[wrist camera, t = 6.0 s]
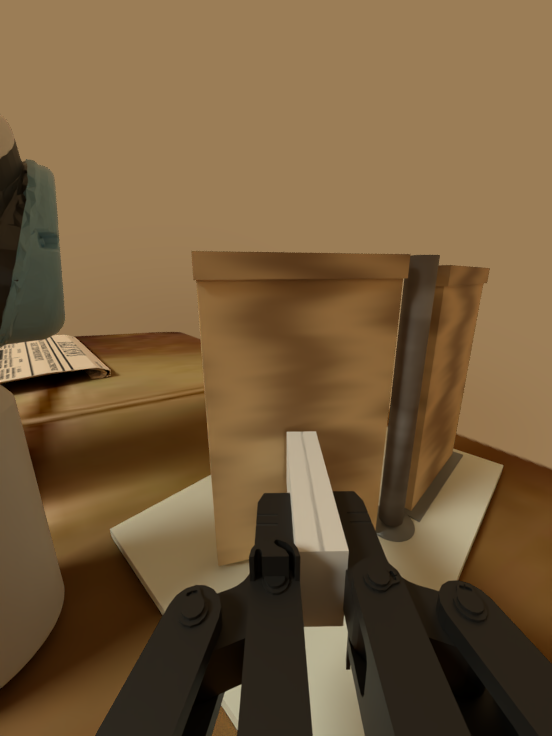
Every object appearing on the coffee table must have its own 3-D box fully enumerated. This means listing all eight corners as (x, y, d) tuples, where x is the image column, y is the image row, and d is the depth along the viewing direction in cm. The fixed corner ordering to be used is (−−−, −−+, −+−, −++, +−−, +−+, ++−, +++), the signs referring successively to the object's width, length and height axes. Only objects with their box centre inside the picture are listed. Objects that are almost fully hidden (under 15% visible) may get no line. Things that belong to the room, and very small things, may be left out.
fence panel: (392, 506, 20) (423, 257, 15) (408, 525, 18) (448, 254, 14) (214, 544, 17) (191, 254, 13) (216, 570, 15) (191, 250, 11)
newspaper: (-21, 354, 65) (-25, 342, 64) (84, 342, 77) (81, 331, 76) (-43, 409, 38) (-50, 388, 37) (123, 377, 50) (121, 361, 49)
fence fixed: (413, 514, 19) (451, 265, 15) (389, 502, 20) (417, 266, 16) (455, 455, 26) (489, 268, 21) (434, 448, 27) (463, 268, 23)
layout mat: (111, 537, 19) (109, 527, 18) (333, 413, 35) (333, 407, 35) (336, 881, 8) (337, 868, 8) (502, 471, 25) (503, 464, 24)
